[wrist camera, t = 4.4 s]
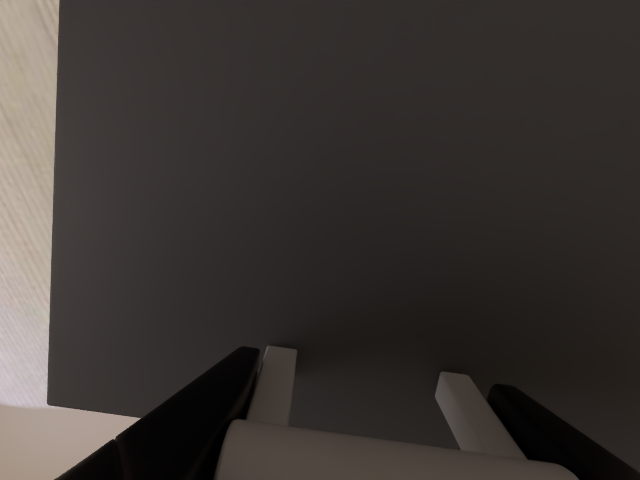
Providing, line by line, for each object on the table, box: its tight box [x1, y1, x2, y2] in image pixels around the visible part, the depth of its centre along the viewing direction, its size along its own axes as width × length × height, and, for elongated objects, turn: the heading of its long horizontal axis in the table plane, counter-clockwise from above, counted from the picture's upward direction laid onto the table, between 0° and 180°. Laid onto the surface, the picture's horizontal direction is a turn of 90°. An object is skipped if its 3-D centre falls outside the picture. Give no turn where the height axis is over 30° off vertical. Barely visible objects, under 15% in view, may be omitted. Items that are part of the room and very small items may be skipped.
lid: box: [47, 0, 640, 480], centre depth 7 cm, size 13×15×5 cm
